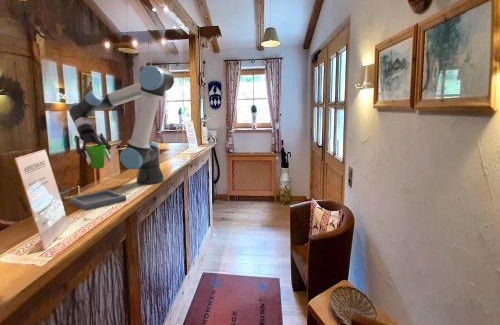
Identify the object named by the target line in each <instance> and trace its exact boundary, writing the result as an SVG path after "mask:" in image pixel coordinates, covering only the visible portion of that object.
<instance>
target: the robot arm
mask: <svg viewBox="0 0 500 325" xmlns="http://www.w3.org/2000/svg"><path fill="white" fill-rule="evenodd" d="M174 83H175V77H174V74H173V73H172V72H171V71H170V70H169V69H168V68H164V67H160V66H156V65H147V66H145V67H143V68H142V69H141V71H140V72H139V74H138V82H136V83H134V84H131V85H129V86H125V87H123V88H120V89H117V90H115V91H112V92H110V93H106V94H105V95H101V94H100V93H99V92H97V91H95V90H91V91H88V93H86V94H85V96H84V97H83V98H82V99H81V100H80V101H79V102H74V103H72V104H71V103H70V105H69V106H68V109H67V110H68V113H69V116H70V118H71V120H72V122H73V124H74V126H75V129H76V130H77V133H78V135H74V139H73V140H74V141H75V148H76V149H75V150H76V154H80V155H81V156H82V157H83V159H84V160H85V159H86V162H87V164H88V165H91V160H90V157H89V154H88V151H87V150H86V147H87V144H88V143H93V144H95V145H105V146H106V147H105V158H106V159H107V162H108V163H109V162H111V159H112V157H111V151H110V150H111V148H112V145H111V144H110V142H109V141H108V140H107V139H106V138H105V137H104V135H103V133H100V134H97V133H96V131H95V129H94V127H93V125H92V122H91V121H90V118H89V115H91V114H92V113H93V112H94V111H95V110H107V111H108V110H112V109H114V108H115V107H116V106H120V105H122V104H126V103H128V102H131V101H134V100H137V99H139V98H140V102H139V106H138V110H137V115H136V118H135V122H134V127H133V131H132V135H131V138H130V139H128V140H127V141H126V146H125V148H124V149H122V150H121V152H120V155H119V160H120V162H121V164H122V165H123V167H125V168H127V169H128V170H138V172H137V176H136V184H138V185H153V184H159V183H162V182H164V181H165V176H164V174H163V172H162V169H161V165H160V152H159V150H160V149H159V145H158V142H156V141H150V137H151V134H152V129H153V127H154V126H153V124H154V123H155V122H154V121H155V117H156V113H157V111H158V107H159V106H158V105H159V102H160V100H161V99H162V98H163V97H164V95H165V93H166V92H167V91H169V90H170V89H171V88H173V86H174ZM80 140H82V142H83V143H82V148H81V145H80Z"/></svg>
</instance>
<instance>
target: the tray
mask: <svg viewBox="0 0 500 325" xmlns="http://www.w3.org/2000/svg"><path fill="white" fill-rule="evenodd" d="M123 202H127V196H126V195H125V194H122V193H119V192H116V191H114V190H111V189H105V190H102V191H96V192H92V193H87V194H82V195H77V196H73V197H69V203H70V204H71V205H73V206H75V207H77V208H78V209H79V208H80V209H81V210H83V211H85V212H86V211H87V212H88V211H89V210H93V209H98V208H103V207H106V206H110V205H115V203H116V204H119V203H123Z"/></svg>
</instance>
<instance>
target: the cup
mask: <svg viewBox="0 0 500 325" xmlns="http://www.w3.org/2000/svg"><path fill="white" fill-rule="evenodd" d="M105 147H106V146H105V145H97V144H95V145H89V146H86V147H85V149H86V151H87V153H88V155H89V157H90V160H91V163H90V165H91V168H93V170H98V169H99V170H100V169H103V168H104V167H105V157H106V155H105Z"/></svg>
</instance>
